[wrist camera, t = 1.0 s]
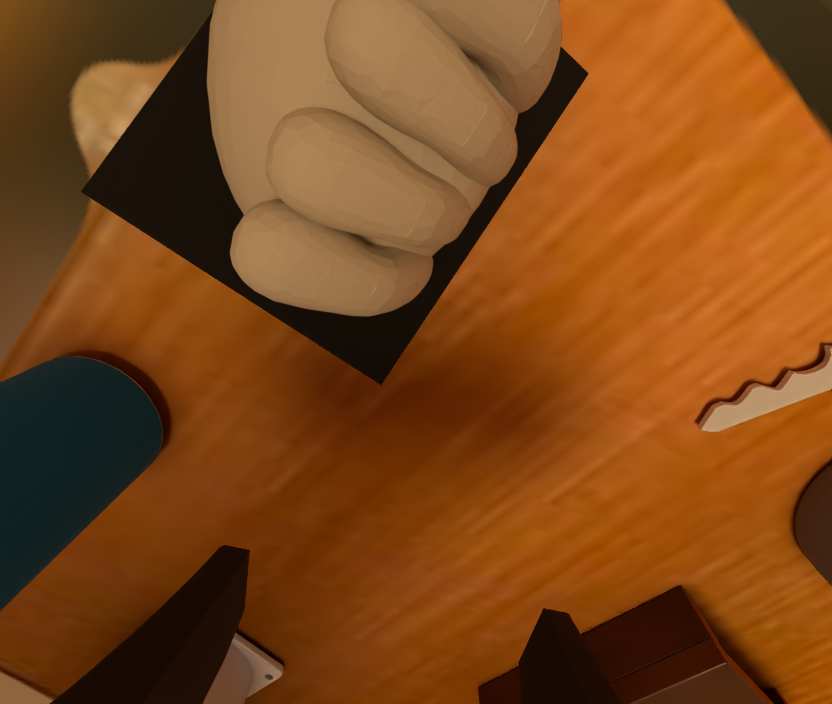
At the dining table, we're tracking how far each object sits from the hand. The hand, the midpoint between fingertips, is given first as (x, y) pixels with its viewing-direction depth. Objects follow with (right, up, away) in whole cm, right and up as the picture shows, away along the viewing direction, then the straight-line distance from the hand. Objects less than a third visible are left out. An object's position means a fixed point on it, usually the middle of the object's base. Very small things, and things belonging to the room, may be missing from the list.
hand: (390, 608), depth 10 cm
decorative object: (-5, +16, -1) cm, 17 cm away
